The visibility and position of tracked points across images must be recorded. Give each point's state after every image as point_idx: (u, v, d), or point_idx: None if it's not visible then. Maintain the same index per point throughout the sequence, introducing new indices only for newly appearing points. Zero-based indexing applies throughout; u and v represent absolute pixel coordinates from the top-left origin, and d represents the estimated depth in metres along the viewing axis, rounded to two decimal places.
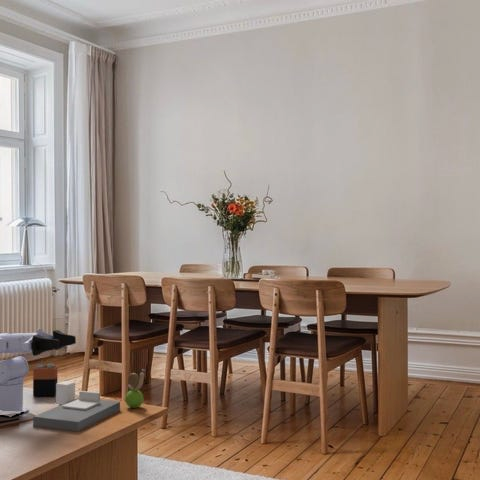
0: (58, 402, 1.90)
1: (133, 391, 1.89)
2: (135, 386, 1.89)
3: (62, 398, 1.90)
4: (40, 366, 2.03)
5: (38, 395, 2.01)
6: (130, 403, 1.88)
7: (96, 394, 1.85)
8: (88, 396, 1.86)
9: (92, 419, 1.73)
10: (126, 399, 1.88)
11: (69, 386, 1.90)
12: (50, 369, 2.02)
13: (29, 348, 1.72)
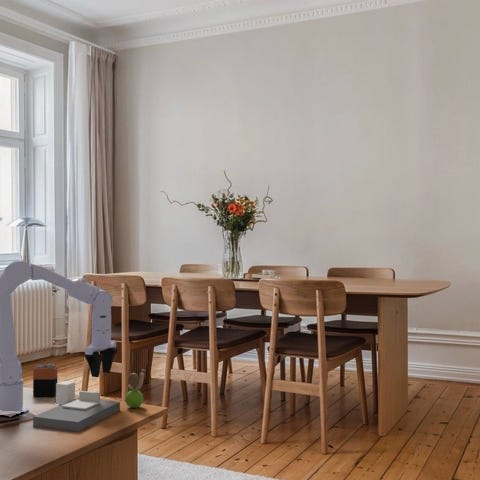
0: (58, 402, 1.90)
1: (133, 391, 1.89)
2: (135, 386, 1.89)
3: (62, 398, 1.90)
4: (40, 366, 2.03)
5: (38, 395, 2.01)
6: (130, 403, 1.88)
7: (96, 394, 1.85)
8: (88, 396, 1.86)
9: (92, 419, 1.73)
10: (126, 399, 1.88)
11: (69, 386, 1.90)
12: (50, 369, 2.02)
13: (87, 354, 1.85)
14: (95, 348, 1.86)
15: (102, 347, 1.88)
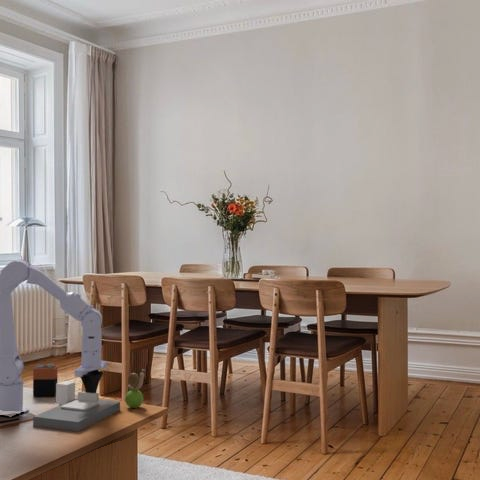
0: (58, 402, 1.90)
1: (133, 391, 1.89)
2: (135, 386, 1.89)
3: (62, 398, 1.90)
4: (40, 366, 2.03)
5: (38, 395, 2.01)
6: (130, 403, 1.88)
7: (95, 395, 1.84)
8: (87, 397, 1.85)
9: (92, 419, 1.73)
10: (126, 399, 1.88)
11: (69, 386, 1.90)
12: (50, 369, 2.02)
13: None
14: (85, 370, 1.81)
15: (92, 369, 1.83)
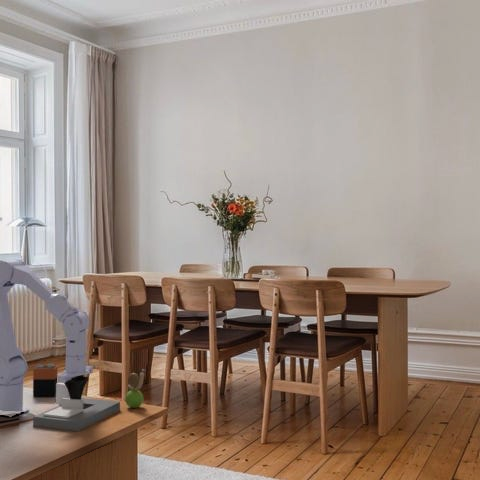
0: (58, 402, 1.90)
1: (133, 391, 1.89)
2: (135, 386, 1.89)
3: None
4: (40, 366, 2.03)
5: (38, 395, 2.01)
6: (130, 403, 1.88)
7: (79, 401, 1.76)
8: (71, 403, 1.77)
9: (92, 419, 1.73)
10: (126, 399, 1.88)
11: None
12: (50, 369, 2.02)
13: None
14: (68, 376, 1.74)
15: (76, 374, 1.76)
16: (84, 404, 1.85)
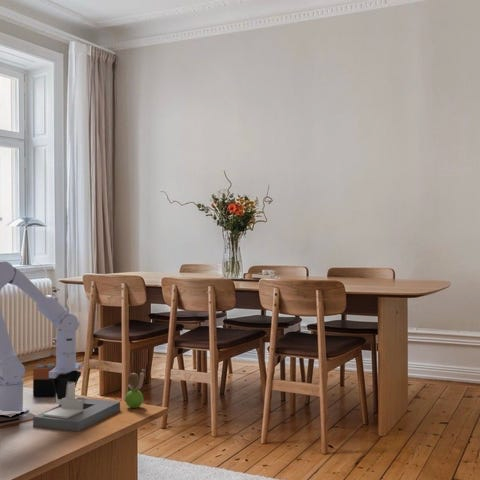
0: (58, 402, 1.90)
1: (133, 391, 1.89)
2: (135, 386, 1.89)
3: None
4: (40, 366, 2.03)
5: (38, 395, 2.01)
6: (130, 403, 1.88)
7: (79, 401, 1.76)
8: (71, 403, 1.77)
9: (92, 419, 1.73)
10: (126, 399, 1.88)
11: (69, 386, 1.90)
12: (50, 369, 2.02)
13: (50, 377, 1.85)
14: (59, 371, 1.86)
15: (66, 370, 1.88)
16: (84, 404, 1.85)
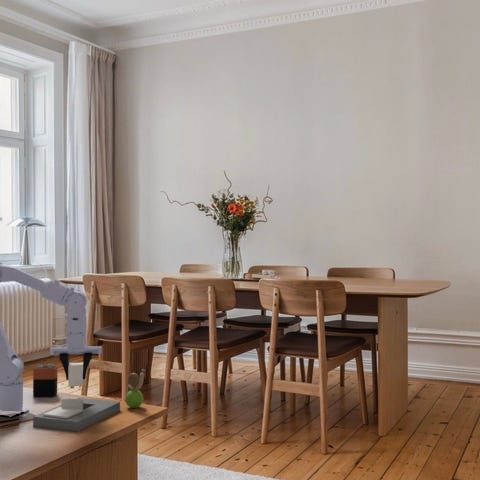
0: None
1: (133, 391, 1.89)
2: (135, 386, 1.89)
3: None
4: (40, 366, 2.03)
5: (38, 395, 2.01)
6: (130, 403, 1.88)
7: (79, 401, 1.76)
8: (71, 403, 1.77)
9: (92, 419, 1.73)
10: (126, 399, 1.88)
11: (72, 367, 1.84)
12: (50, 369, 2.02)
13: None
14: (56, 349, 1.83)
15: (65, 350, 1.83)
16: (84, 404, 1.85)
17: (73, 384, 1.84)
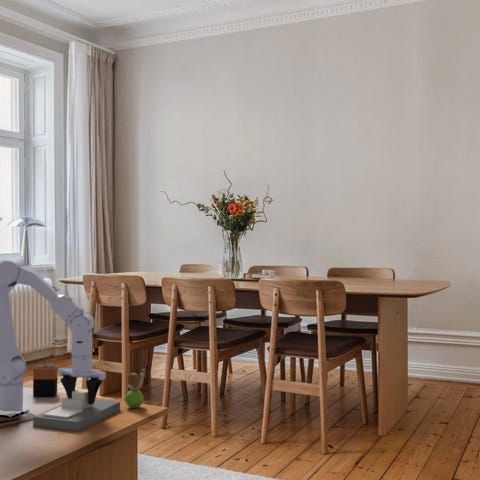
0: None
1: (133, 391, 1.89)
2: (135, 386, 1.89)
3: None
4: (40, 366, 2.03)
5: (38, 395, 2.01)
6: (130, 403, 1.88)
7: (79, 401, 1.76)
8: (71, 403, 1.77)
9: (92, 419, 1.73)
10: (126, 399, 1.88)
11: (75, 394, 1.80)
12: (50, 369, 2.02)
13: None
14: (63, 371, 1.82)
15: (68, 372, 1.81)
16: None
17: None
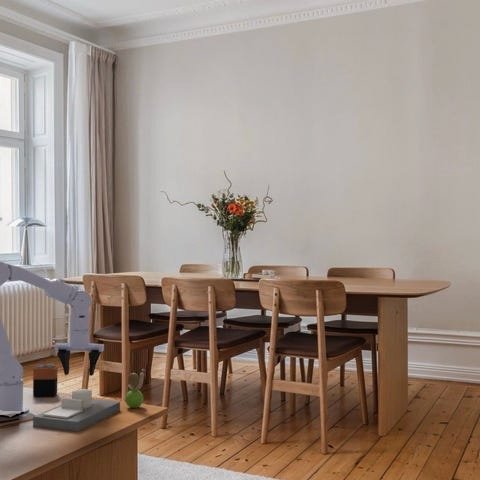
0: None
1: (133, 391, 1.89)
2: (135, 386, 1.89)
3: None
4: (40, 366, 2.03)
5: (38, 395, 2.01)
6: (130, 403, 1.88)
7: (79, 401, 1.76)
8: (71, 403, 1.77)
9: (92, 419, 1.73)
10: (126, 399, 1.88)
11: (75, 394, 1.80)
12: (50, 369, 2.02)
13: None
14: (60, 345, 1.90)
15: (67, 346, 1.89)
16: None
17: None
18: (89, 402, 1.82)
